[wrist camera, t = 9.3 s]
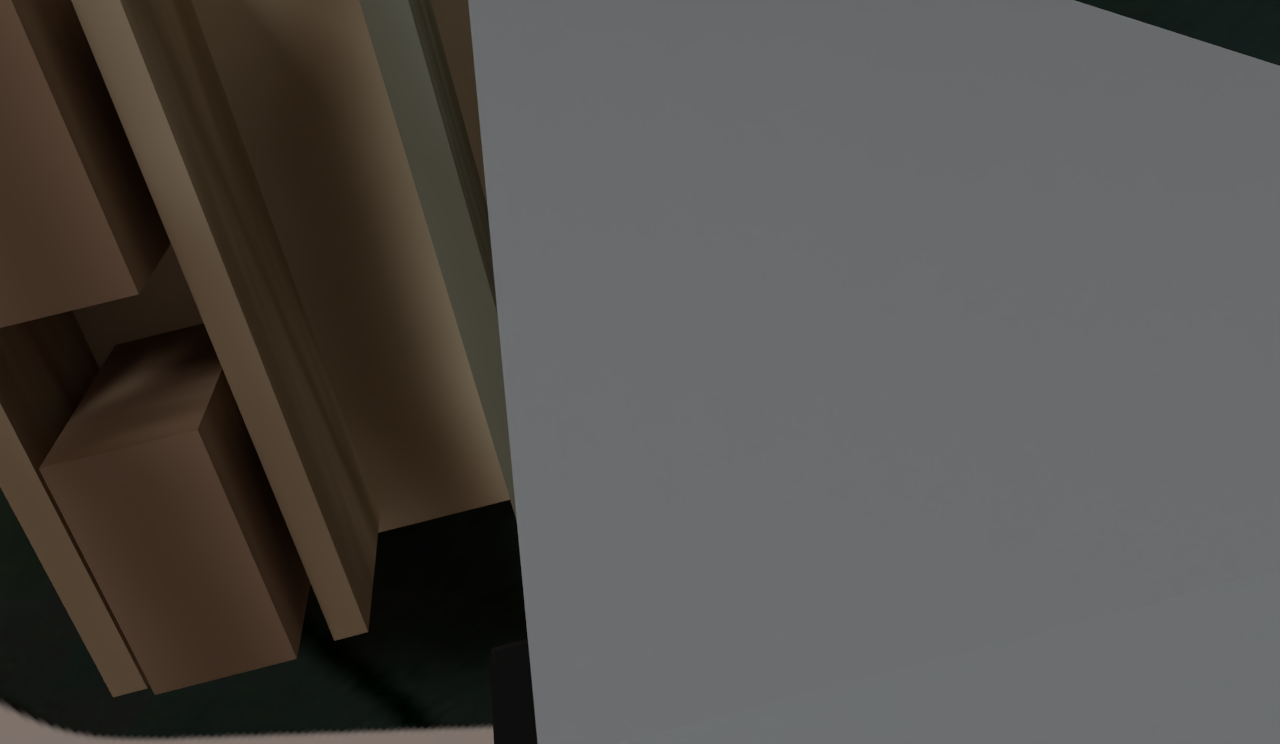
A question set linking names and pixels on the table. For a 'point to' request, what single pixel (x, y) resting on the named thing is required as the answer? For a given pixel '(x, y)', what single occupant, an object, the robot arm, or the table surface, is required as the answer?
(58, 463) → the offcut
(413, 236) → the rack
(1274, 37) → the table surface
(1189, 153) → the sheet
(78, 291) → the offcut
